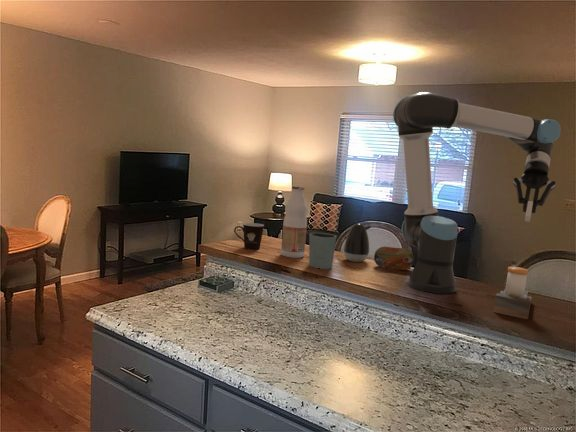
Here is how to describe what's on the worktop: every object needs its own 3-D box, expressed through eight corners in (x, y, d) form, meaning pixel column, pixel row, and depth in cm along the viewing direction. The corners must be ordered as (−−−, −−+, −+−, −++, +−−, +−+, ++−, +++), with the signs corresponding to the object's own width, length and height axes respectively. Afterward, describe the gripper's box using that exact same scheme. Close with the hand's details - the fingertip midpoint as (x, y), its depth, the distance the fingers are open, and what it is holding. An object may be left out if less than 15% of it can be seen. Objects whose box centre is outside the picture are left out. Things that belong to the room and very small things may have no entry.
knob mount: (500, 296, 156) (502, 280, 156) (530, 302, 152) (533, 286, 151) (493, 312, 139) (496, 294, 138) (527, 319, 135) (530, 300, 134)
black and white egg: (373, 263, 191) (377, 225, 189) (350, 263, 187) (354, 225, 185) (360, 257, 200) (364, 221, 198) (338, 257, 196) (341, 221, 194)
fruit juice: (280, 257, 188) (285, 186, 185) (281, 252, 198) (287, 184, 194) (303, 259, 188) (310, 188, 184) (304, 254, 197) (310, 186, 194)
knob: (503, 299, 145) (508, 265, 144) (523, 302, 143) (528, 268, 141) (502, 303, 141) (507, 268, 139) (522, 307, 138) (527, 272, 137)
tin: (373, 267, 185) (375, 245, 184) (372, 265, 188) (375, 244, 187) (412, 271, 183) (415, 250, 182) (412, 269, 186) (414, 248, 185)
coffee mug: (266, 248, 202) (268, 225, 201) (254, 251, 195) (256, 227, 194) (244, 244, 208) (245, 221, 207) (231, 246, 201) (233, 222, 200)
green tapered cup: (318, 270, 171) (321, 237, 170) (301, 264, 179) (303, 232, 178) (339, 268, 177) (342, 236, 176) (321, 262, 185) (324, 231, 184)
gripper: (556, 177, 166) (549, 229, 154) (515, 173, 172) (505, 223, 160) (559, 161, 161) (551, 213, 149) (516, 158, 167) (506, 208, 155)
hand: (527, 218), depth 154 cm, fingers closed
